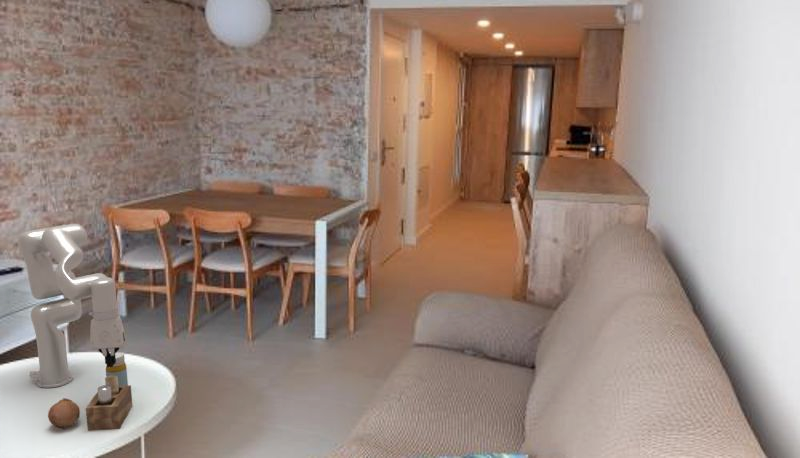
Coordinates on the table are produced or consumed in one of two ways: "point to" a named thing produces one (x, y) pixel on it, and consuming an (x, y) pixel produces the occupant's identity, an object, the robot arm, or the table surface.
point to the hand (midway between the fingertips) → (111, 365)
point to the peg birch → (112, 383)
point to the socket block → (109, 411)
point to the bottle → (119, 369)
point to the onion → (64, 413)
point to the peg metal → (104, 395)
